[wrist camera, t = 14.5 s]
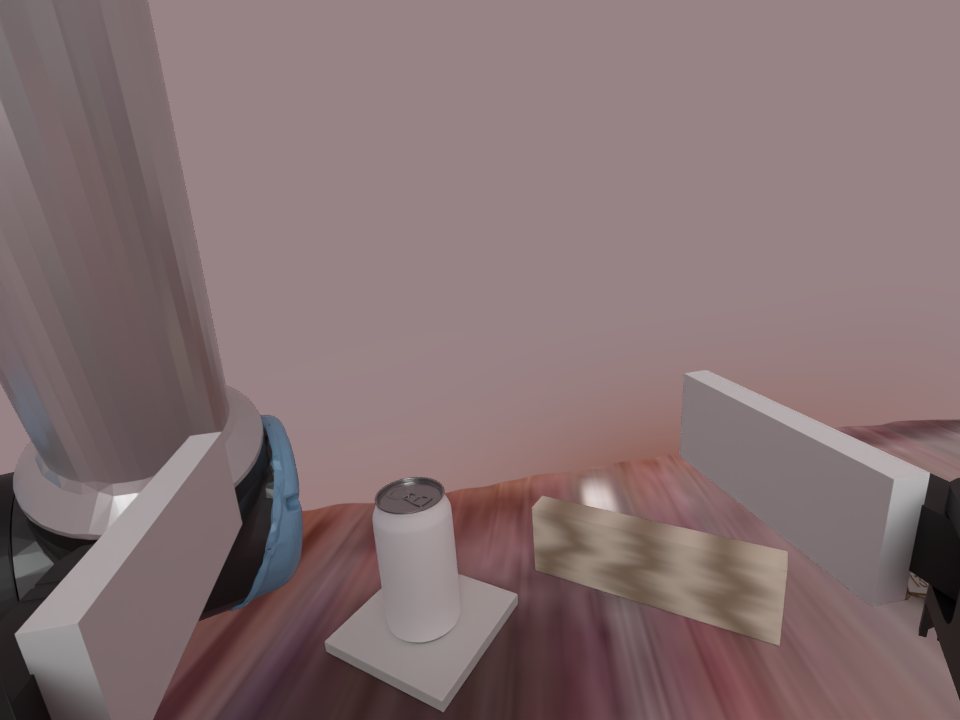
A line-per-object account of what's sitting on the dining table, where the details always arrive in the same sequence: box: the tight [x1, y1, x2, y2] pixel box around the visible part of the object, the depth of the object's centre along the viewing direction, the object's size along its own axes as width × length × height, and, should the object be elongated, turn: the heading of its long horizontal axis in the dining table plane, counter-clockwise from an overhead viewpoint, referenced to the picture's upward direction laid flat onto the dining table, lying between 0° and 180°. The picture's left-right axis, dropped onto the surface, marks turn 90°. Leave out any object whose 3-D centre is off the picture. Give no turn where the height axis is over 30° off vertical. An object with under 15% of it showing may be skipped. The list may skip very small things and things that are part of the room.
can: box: [372, 477, 461, 644], centre depth 43 cm, size 6×6×12 cm
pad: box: [324, 574, 518, 712], centre depth 44 cm, size 12×12×1 cm
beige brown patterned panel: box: [532, 496, 788, 646], centre depth 45 cm, size 21×2×7 cm, turn 59°
